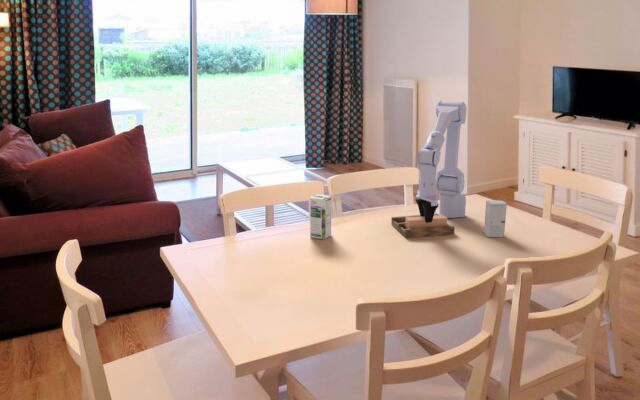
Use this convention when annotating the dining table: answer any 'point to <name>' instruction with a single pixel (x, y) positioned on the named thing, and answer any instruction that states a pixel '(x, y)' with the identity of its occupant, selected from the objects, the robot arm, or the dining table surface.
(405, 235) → the rack
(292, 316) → the dining table surface
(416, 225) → the clay strip
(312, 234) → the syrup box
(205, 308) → the dining table surface
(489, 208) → the skincare box
